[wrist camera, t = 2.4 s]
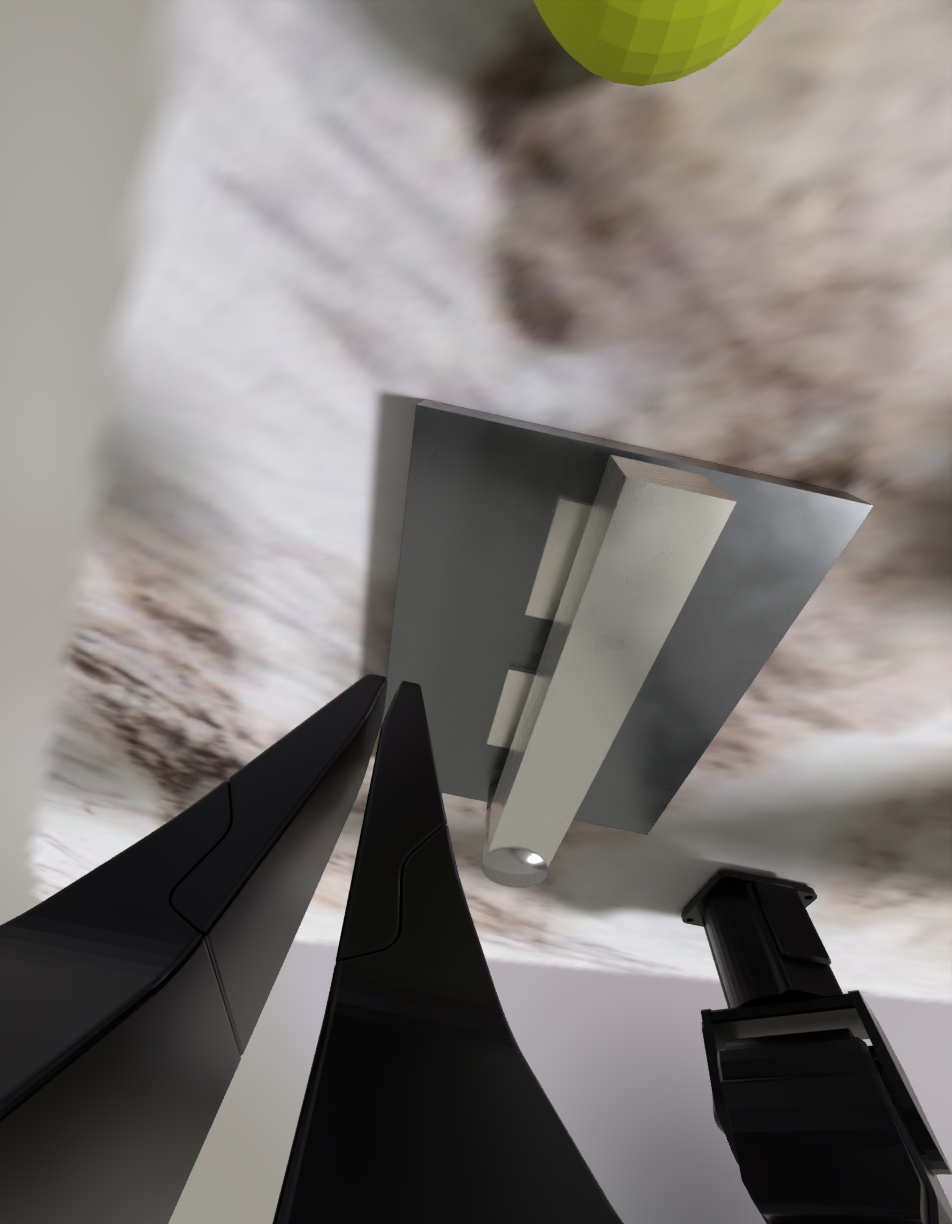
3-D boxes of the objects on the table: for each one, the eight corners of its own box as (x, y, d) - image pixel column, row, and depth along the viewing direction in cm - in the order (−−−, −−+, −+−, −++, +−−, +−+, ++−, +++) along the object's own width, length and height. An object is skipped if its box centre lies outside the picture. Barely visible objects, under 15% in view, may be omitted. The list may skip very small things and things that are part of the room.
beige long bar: (537, 839, 25) (538, 892, 23) (481, 828, 25) (476, 880, 23) (705, 475, 14) (742, 503, 12) (607, 453, 14) (623, 477, 12)
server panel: (637, 817, 28) (646, 857, 25) (382, 764, 27) (370, 800, 25) (846, 492, 17) (893, 515, 15) (425, 399, 16) (409, 408, 14)
